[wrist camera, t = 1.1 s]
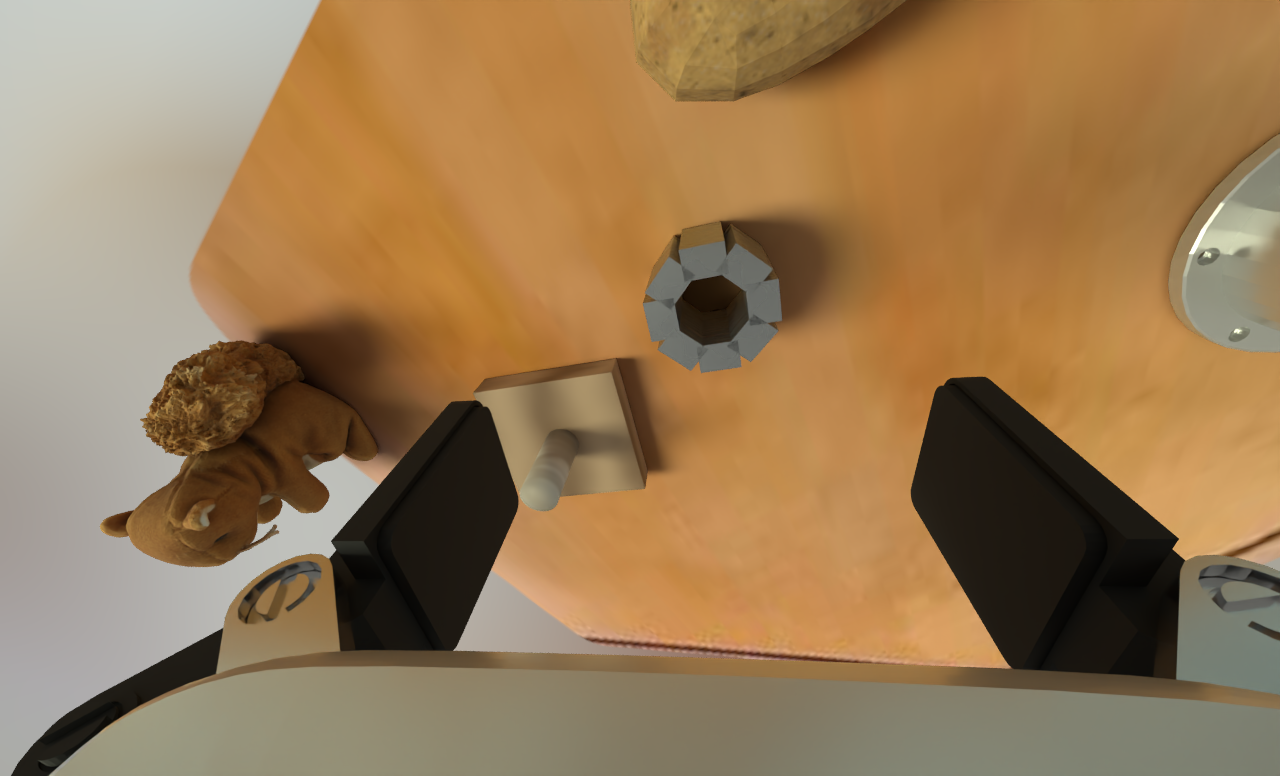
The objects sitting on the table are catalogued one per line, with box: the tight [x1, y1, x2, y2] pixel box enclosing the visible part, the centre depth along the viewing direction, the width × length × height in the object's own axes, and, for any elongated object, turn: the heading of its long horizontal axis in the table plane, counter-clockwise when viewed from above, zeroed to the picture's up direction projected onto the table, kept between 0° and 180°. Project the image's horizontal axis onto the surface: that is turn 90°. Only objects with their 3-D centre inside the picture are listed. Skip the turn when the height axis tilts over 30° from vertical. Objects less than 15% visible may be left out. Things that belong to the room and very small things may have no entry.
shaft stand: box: [473, 359, 648, 511], centre depth 31 cm, size 10×10×8 cm
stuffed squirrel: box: [100, 341, 378, 567], centre depth 30 cm, size 10×14×13 cm
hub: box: [643, 221, 782, 373], centre depth 25 cm, size 7×7×5 cm
